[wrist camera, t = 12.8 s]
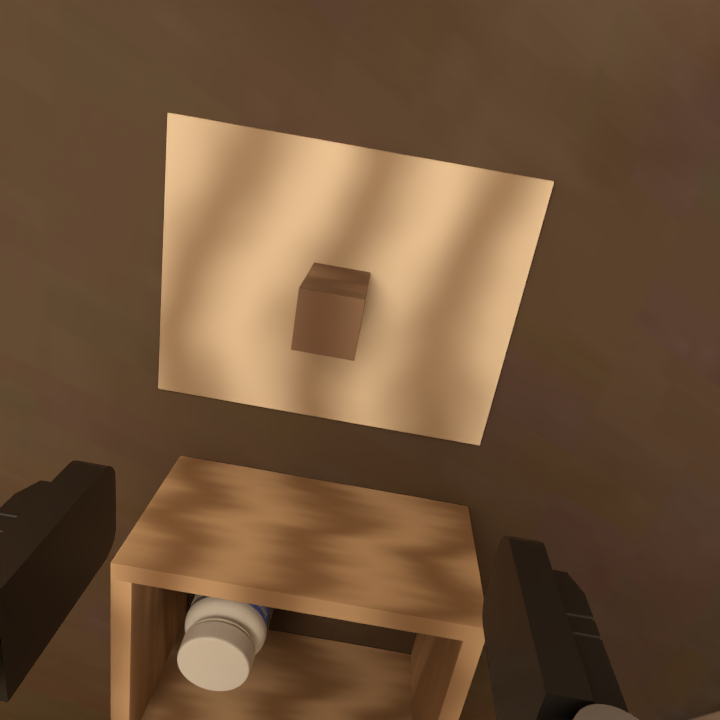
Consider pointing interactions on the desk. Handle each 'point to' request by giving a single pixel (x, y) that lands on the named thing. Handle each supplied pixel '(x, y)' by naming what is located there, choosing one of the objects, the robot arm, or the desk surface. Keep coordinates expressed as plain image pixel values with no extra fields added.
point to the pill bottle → (221, 641)
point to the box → (297, 597)
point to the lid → (340, 277)
